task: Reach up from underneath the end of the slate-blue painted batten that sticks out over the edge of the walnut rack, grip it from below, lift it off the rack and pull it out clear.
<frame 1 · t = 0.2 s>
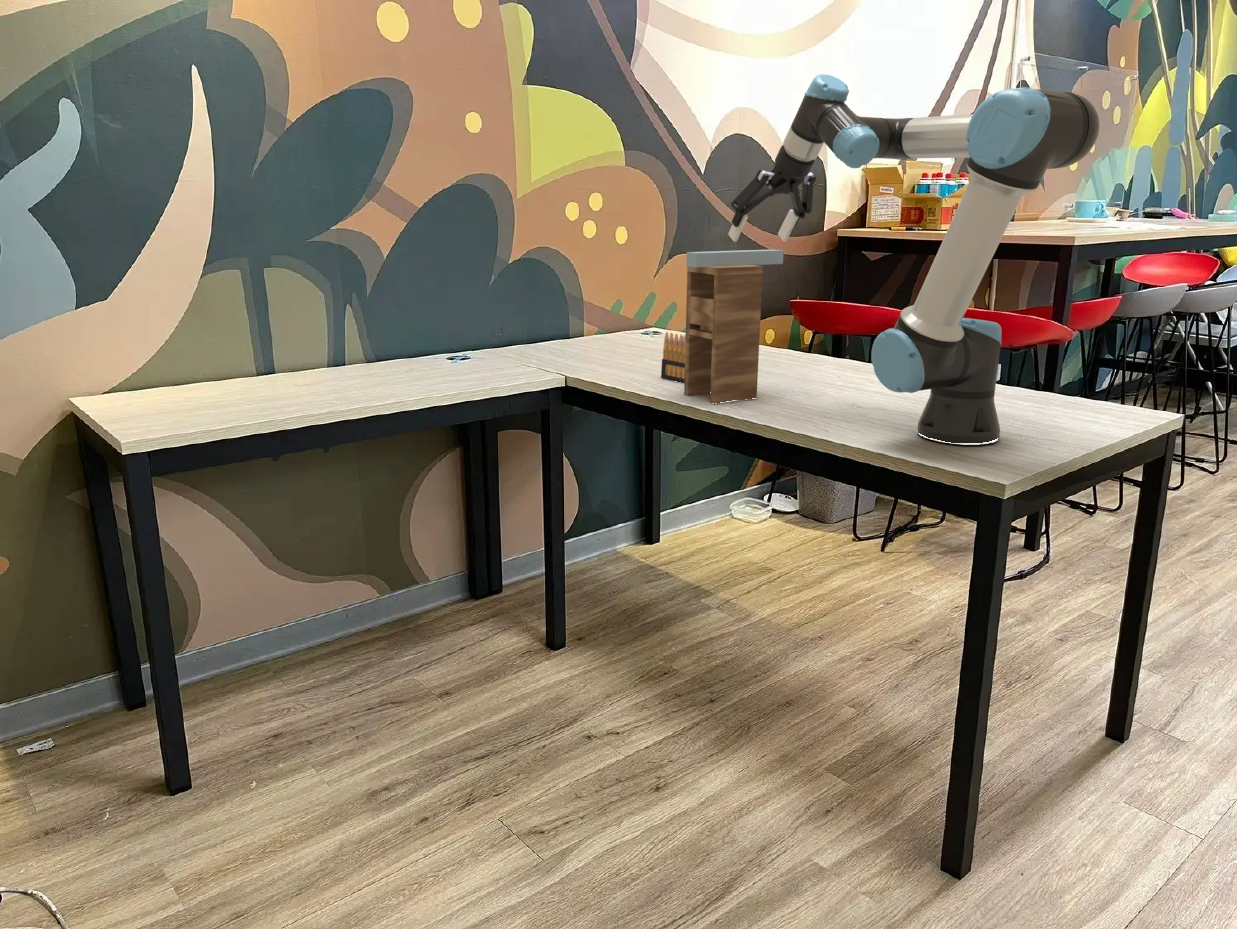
hand: (757, 237, 205), 36 cm above the table, tool tilted 35°, fingers open, 13 cm apart
kitchen timer: (704, 360, 266), on the table
rack: (720, 396, 217), on the table
batten: (735, 264, 210), point 30 cm above the table, touching rack
ammunition clip: (677, 382, 235), on the table
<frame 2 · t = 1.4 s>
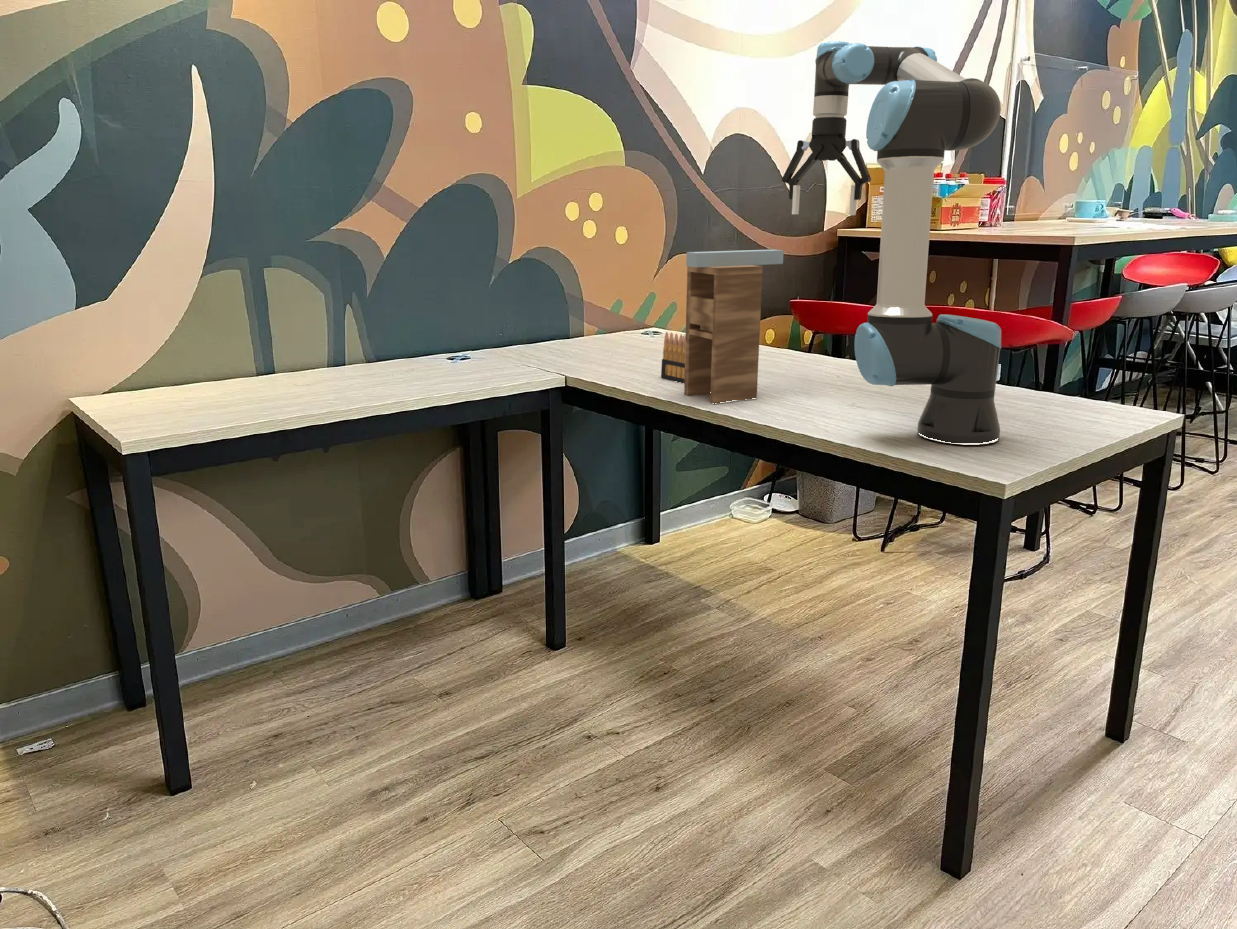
hand: (823, 214, 216), 41 cm above the table, tool pointing down, fingers open, 13 cm apart
nothing on the table moved.
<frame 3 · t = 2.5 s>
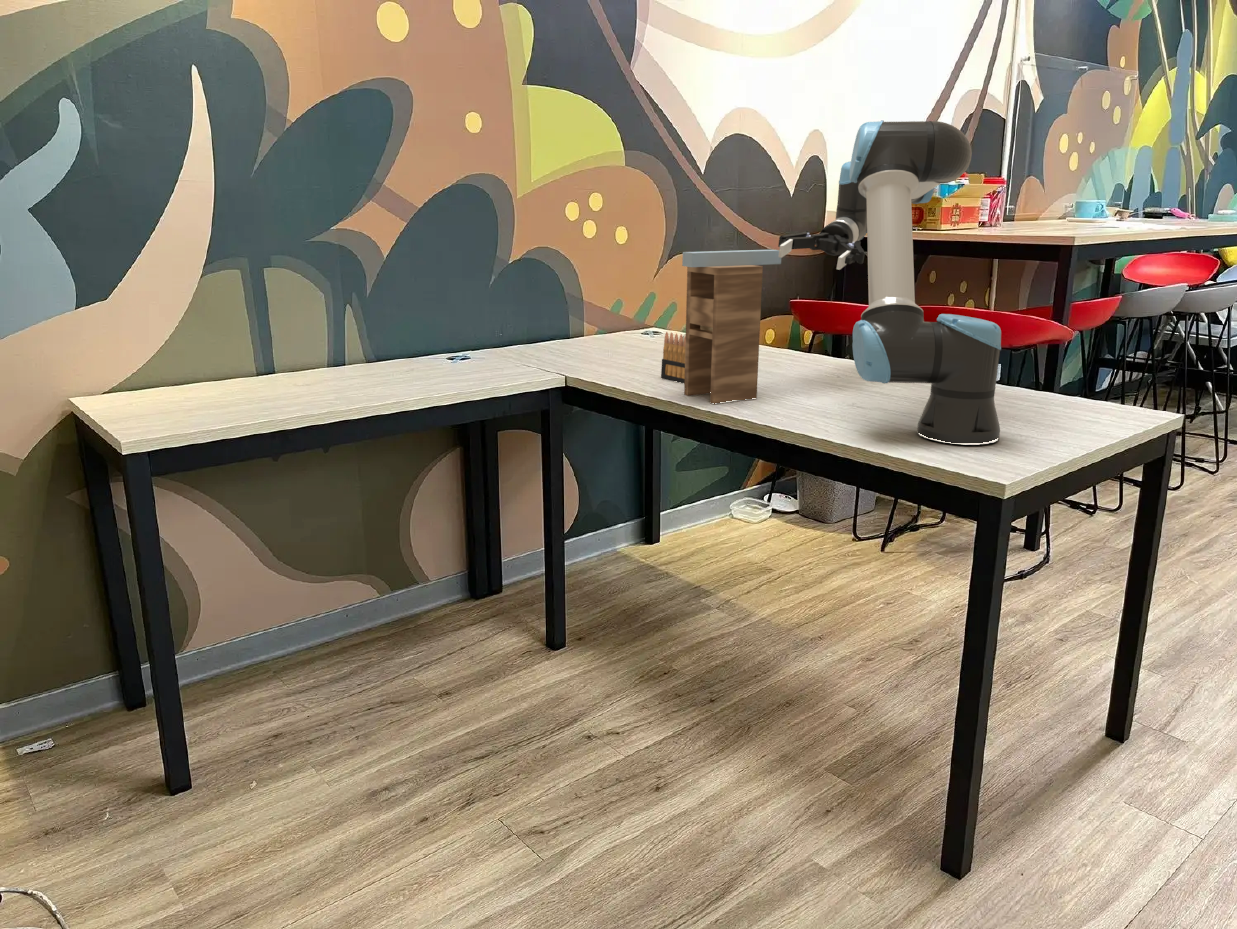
hand: (809, 257, 207), 32 cm above the table, tool horizontal, fingers open, 13 cm apart
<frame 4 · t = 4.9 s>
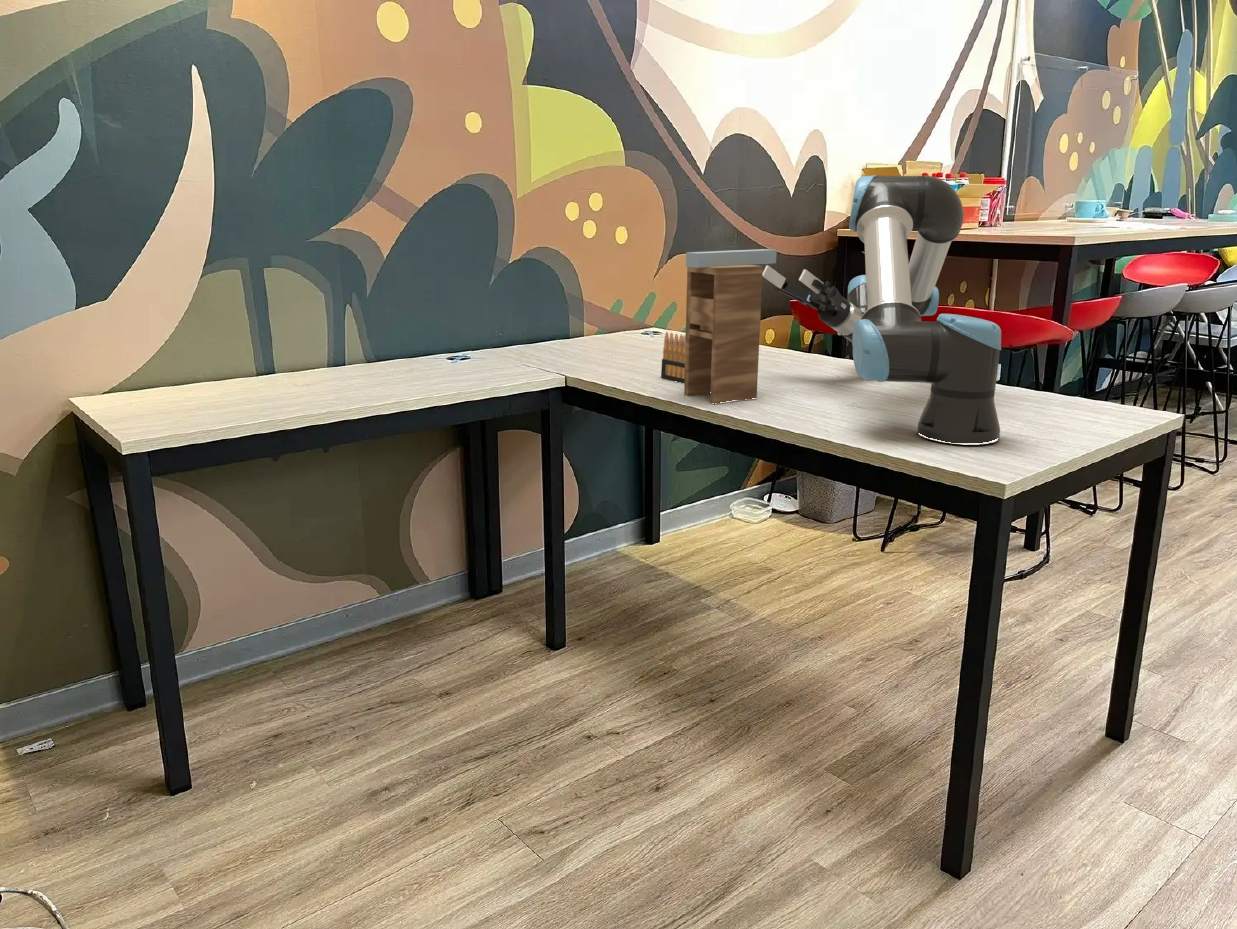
hand: (782, 272, 217), 28 cm above the table, tool pointing upward, fingers open, 13 cm apart
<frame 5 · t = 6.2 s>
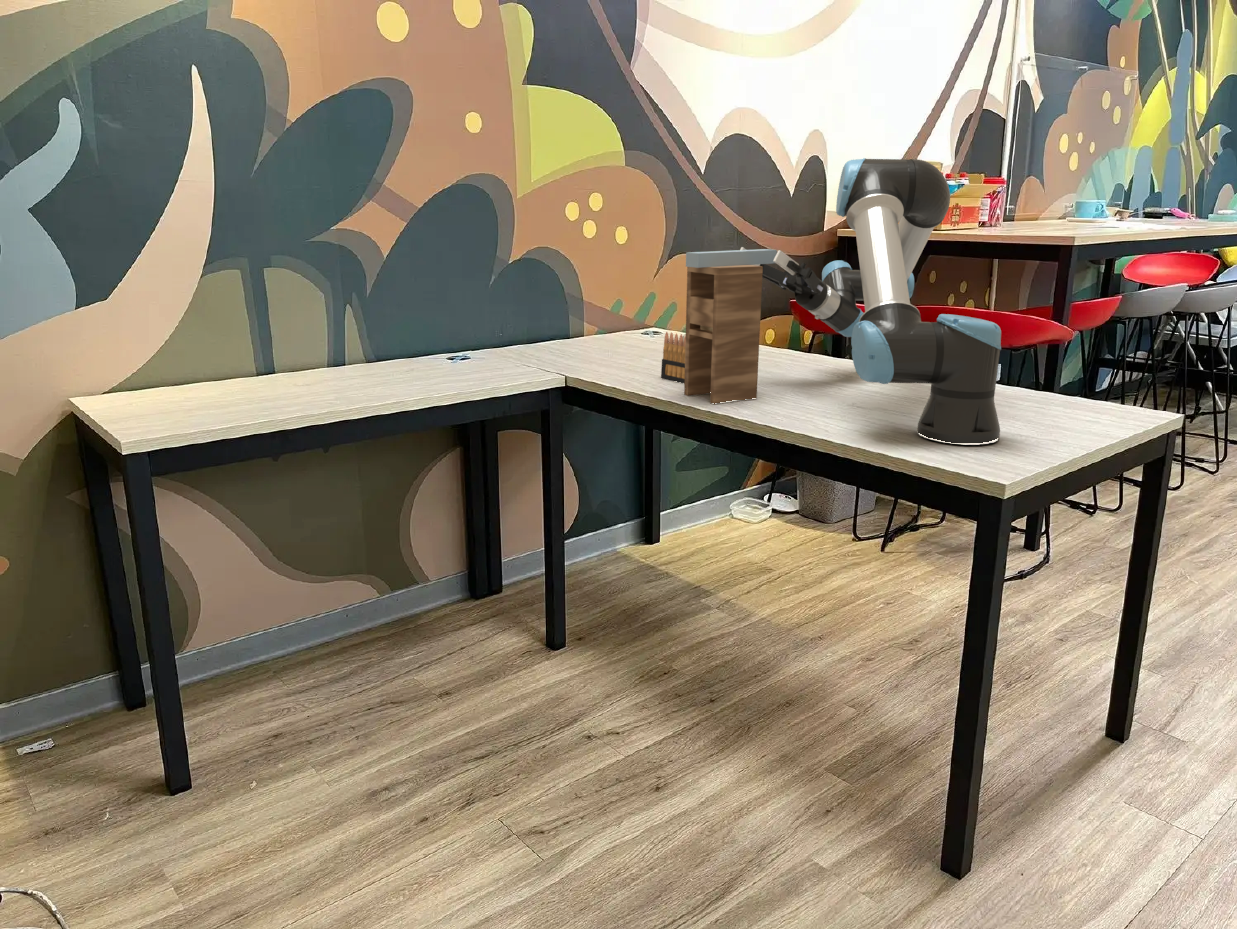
hand: (757, 253, 212), 32 cm above the table, tool pointing upward, fingers open, 13 cm apart
nothing on the table moved.
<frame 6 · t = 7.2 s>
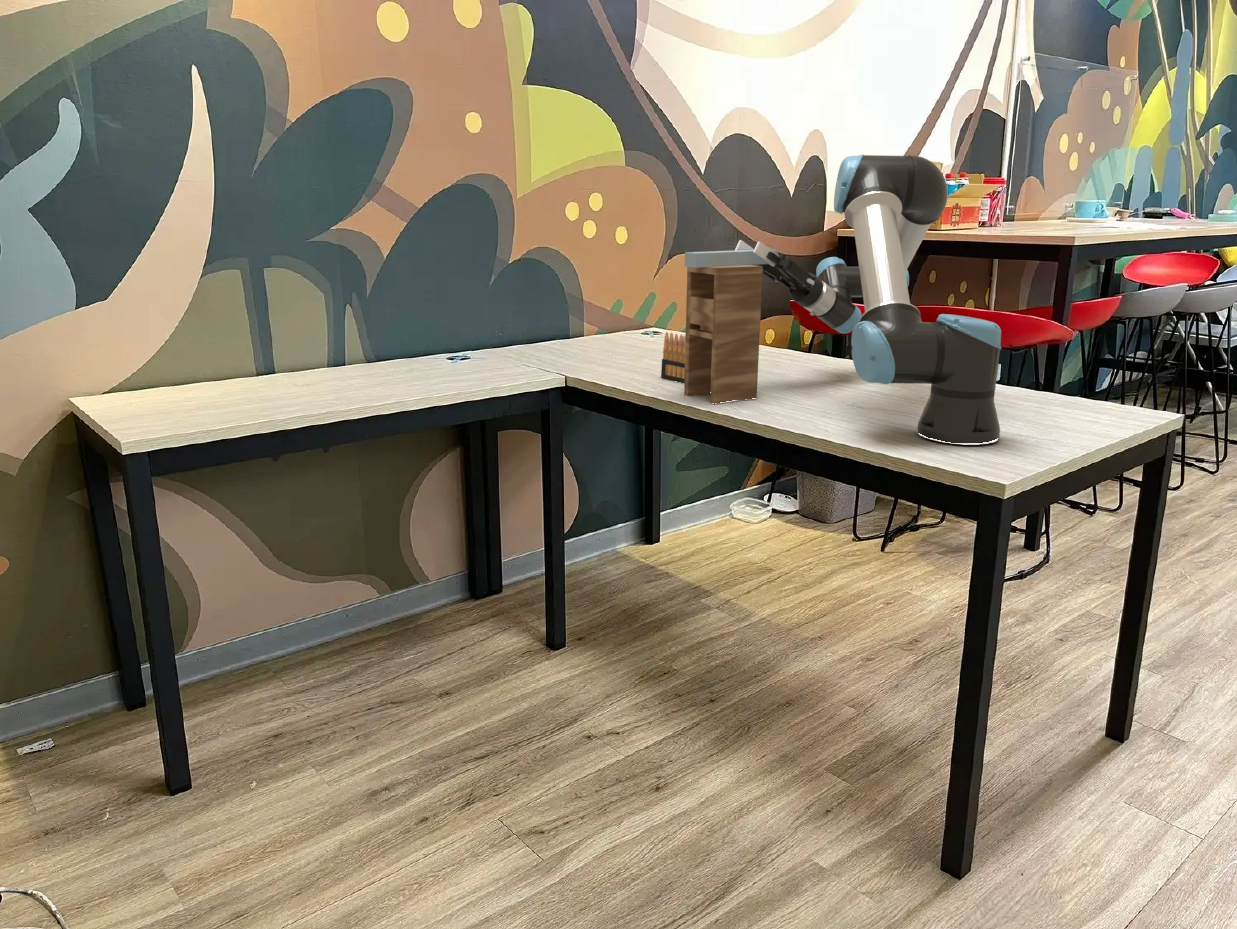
hand: (747, 246, 210), 34 cm above the table, tool pointing upward, fingers open, 6 cm apart
batten: (732, 264, 210), point 30 cm above the table, touching gripper, rack
everything else where it was.
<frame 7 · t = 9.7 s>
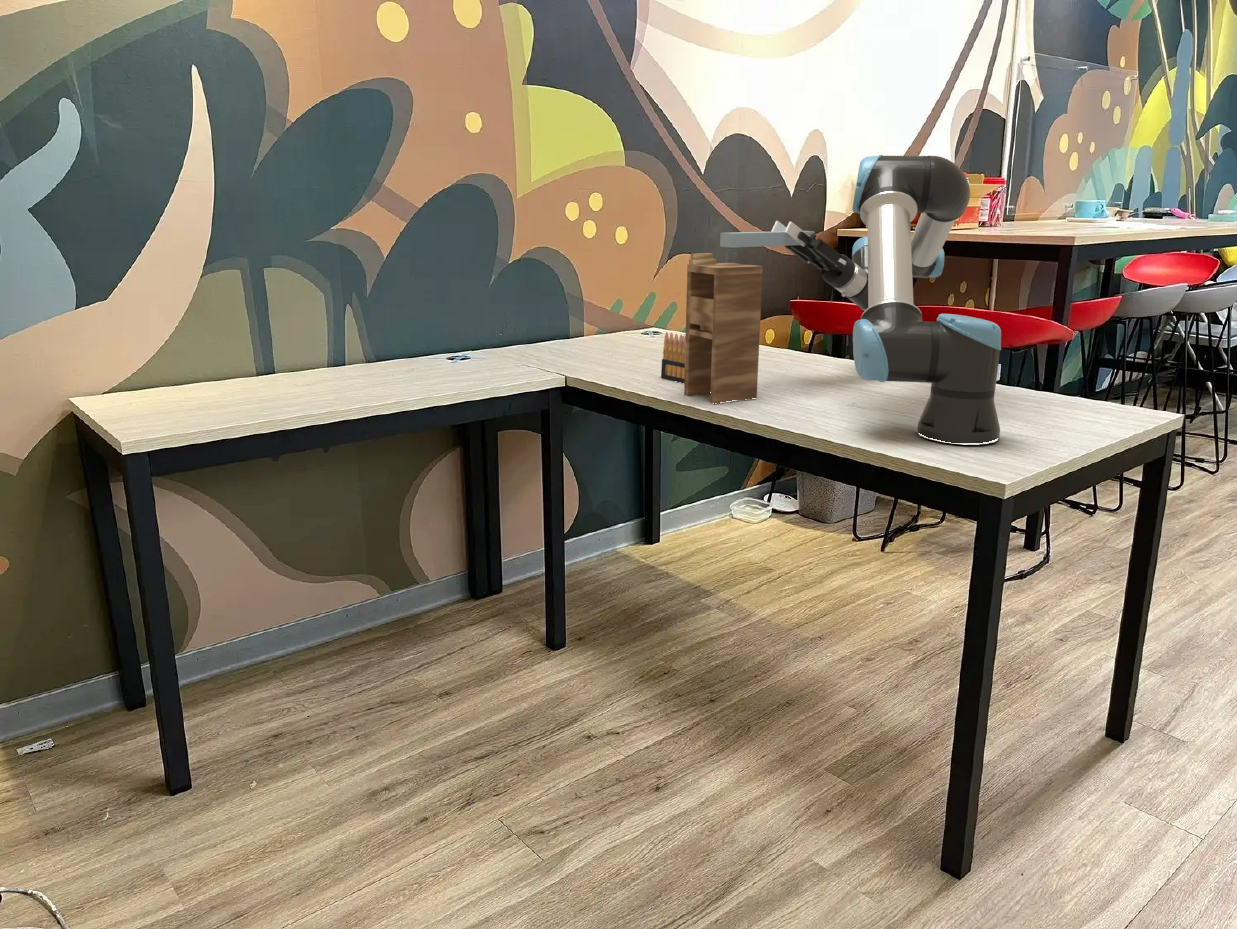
hand: (781, 226, 213), 38 cm above the table, tool pointing upward, fingers closed on batten, 4 cm apart
batten: (767, 245, 213), point 34 cm above the table, touching gripper
everything else where it was.
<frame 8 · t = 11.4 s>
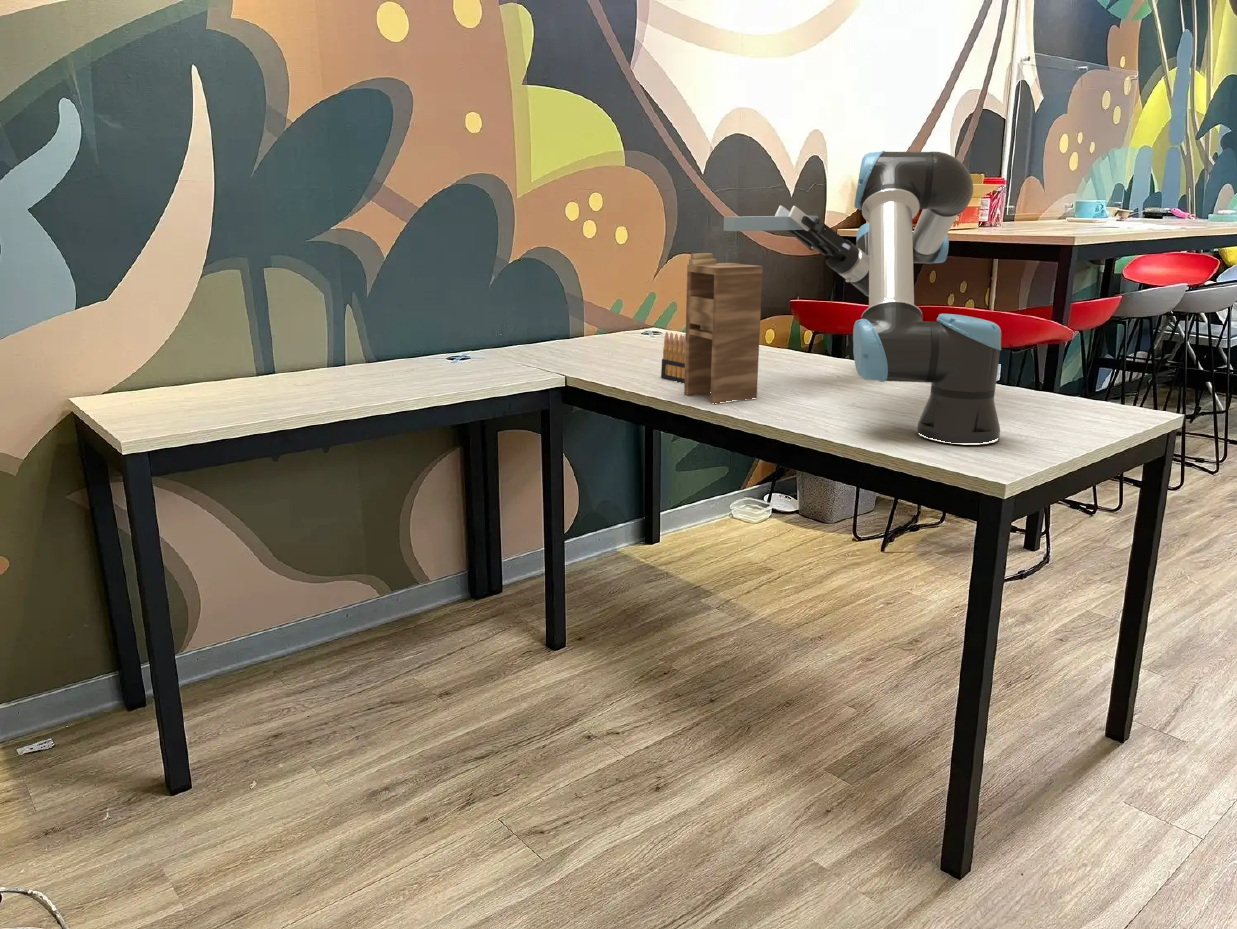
hand: (785, 210, 213), 42 cm above the table, tool pointing upward, fingers closed on batten, 4 cm apart
batten: (771, 229, 213), point 37 cm above the table, touching gripper
everything else where it was.
at the end: batten moved 12.4 cm from its start; batten point 37.5 cm above the table; batten touching gripper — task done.
